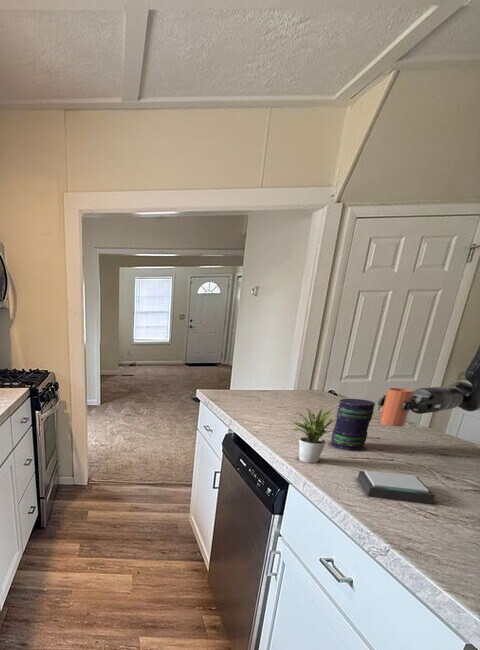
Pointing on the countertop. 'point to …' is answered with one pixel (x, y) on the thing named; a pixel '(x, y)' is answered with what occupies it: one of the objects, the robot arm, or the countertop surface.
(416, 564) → the countertop surface
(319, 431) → the house plant
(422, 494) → the scale
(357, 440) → the storage jar
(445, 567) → the countertop surface
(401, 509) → the countertop surface
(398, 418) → the cup
